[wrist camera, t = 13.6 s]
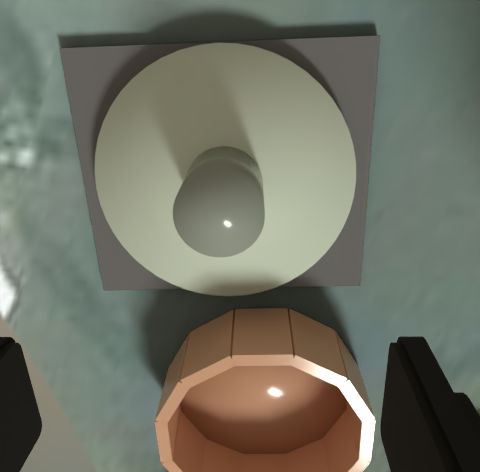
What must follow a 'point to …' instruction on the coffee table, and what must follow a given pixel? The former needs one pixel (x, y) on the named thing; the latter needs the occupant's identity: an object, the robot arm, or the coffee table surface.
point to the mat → (296, 50)
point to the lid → (225, 169)
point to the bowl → (264, 398)
